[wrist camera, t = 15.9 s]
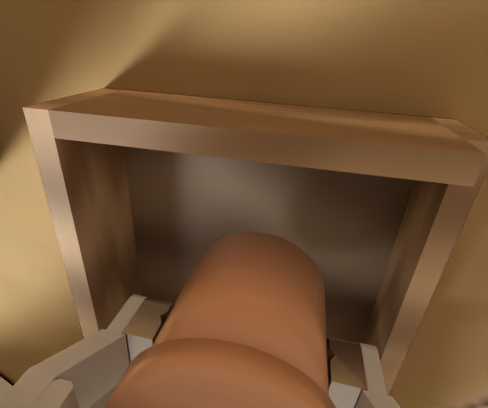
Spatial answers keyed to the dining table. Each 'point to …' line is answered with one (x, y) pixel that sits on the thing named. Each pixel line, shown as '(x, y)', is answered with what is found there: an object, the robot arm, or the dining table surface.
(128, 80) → the dining table surface
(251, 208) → the wooden box
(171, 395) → the terracotta pot
